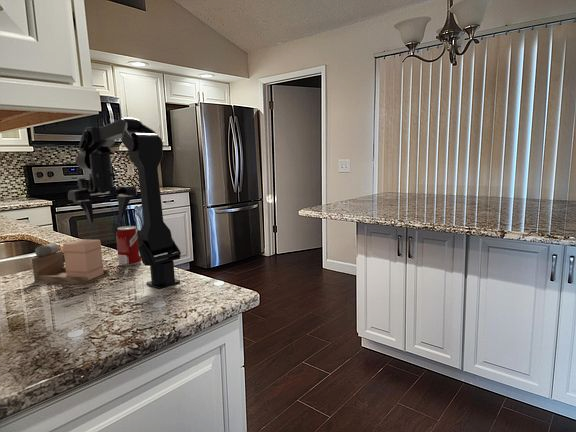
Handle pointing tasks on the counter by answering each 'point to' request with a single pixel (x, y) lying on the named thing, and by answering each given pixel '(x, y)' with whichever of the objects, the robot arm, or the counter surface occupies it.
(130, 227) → the soda can
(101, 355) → the counter surface
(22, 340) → the counter surface
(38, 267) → the bay
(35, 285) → the counter surface
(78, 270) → the pink box
